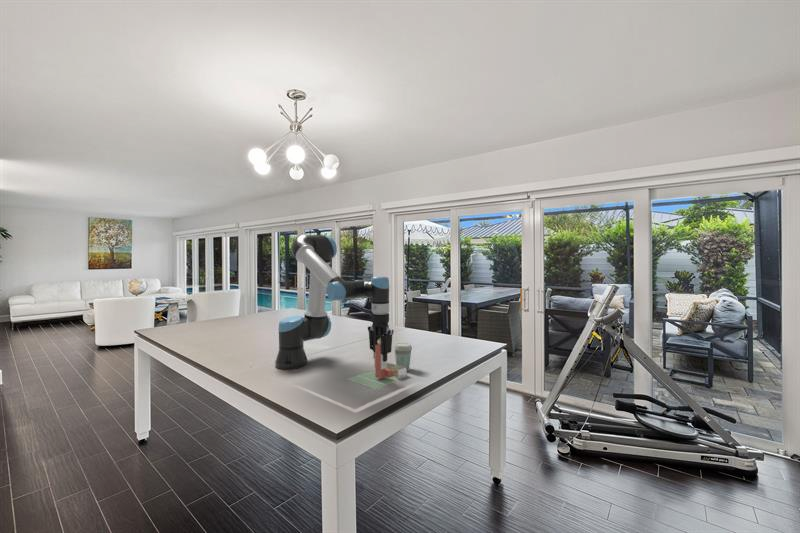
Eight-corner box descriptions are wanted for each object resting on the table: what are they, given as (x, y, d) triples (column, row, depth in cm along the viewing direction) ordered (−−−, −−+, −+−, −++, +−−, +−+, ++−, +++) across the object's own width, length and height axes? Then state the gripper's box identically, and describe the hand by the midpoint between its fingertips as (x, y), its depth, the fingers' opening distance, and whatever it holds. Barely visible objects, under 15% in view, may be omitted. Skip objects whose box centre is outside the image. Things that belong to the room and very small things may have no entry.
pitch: (346, 381, 149) (346, 379, 149) (369, 373, 159) (369, 370, 159) (376, 392, 137) (376, 389, 137) (399, 382, 148) (399, 380, 148)
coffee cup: (390, 369, 165) (390, 344, 164) (402, 365, 171) (402, 341, 171) (403, 374, 159) (403, 348, 159) (415, 369, 165) (415, 344, 165)
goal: (377, 376, 156) (377, 365, 156) (386, 372, 161) (386, 361, 161) (398, 382, 148) (398, 370, 148) (406, 378, 153) (406, 367, 153)
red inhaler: (372, 376, 150) (371, 338, 149) (379, 373, 154) (379, 336, 153) (383, 379, 145) (383, 340, 145) (391, 376, 149) (391, 338, 148)
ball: (391, 377, 157) (386, 376, 154) (393, 369, 158) (388, 368, 155) (397, 378, 154) (392, 377, 152) (399, 370, 155) (394, 369, 153)
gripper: (360, 312, 150) (361, 365, 151) (388, 316, 140) (388, 374, 141) (373, 310, 156) (373, 361, 157) (400, 313, 145) (400, 369, 146)
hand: (380, 367), depth 149 cm, fingers closed on red inhaler, 3 cm apart
